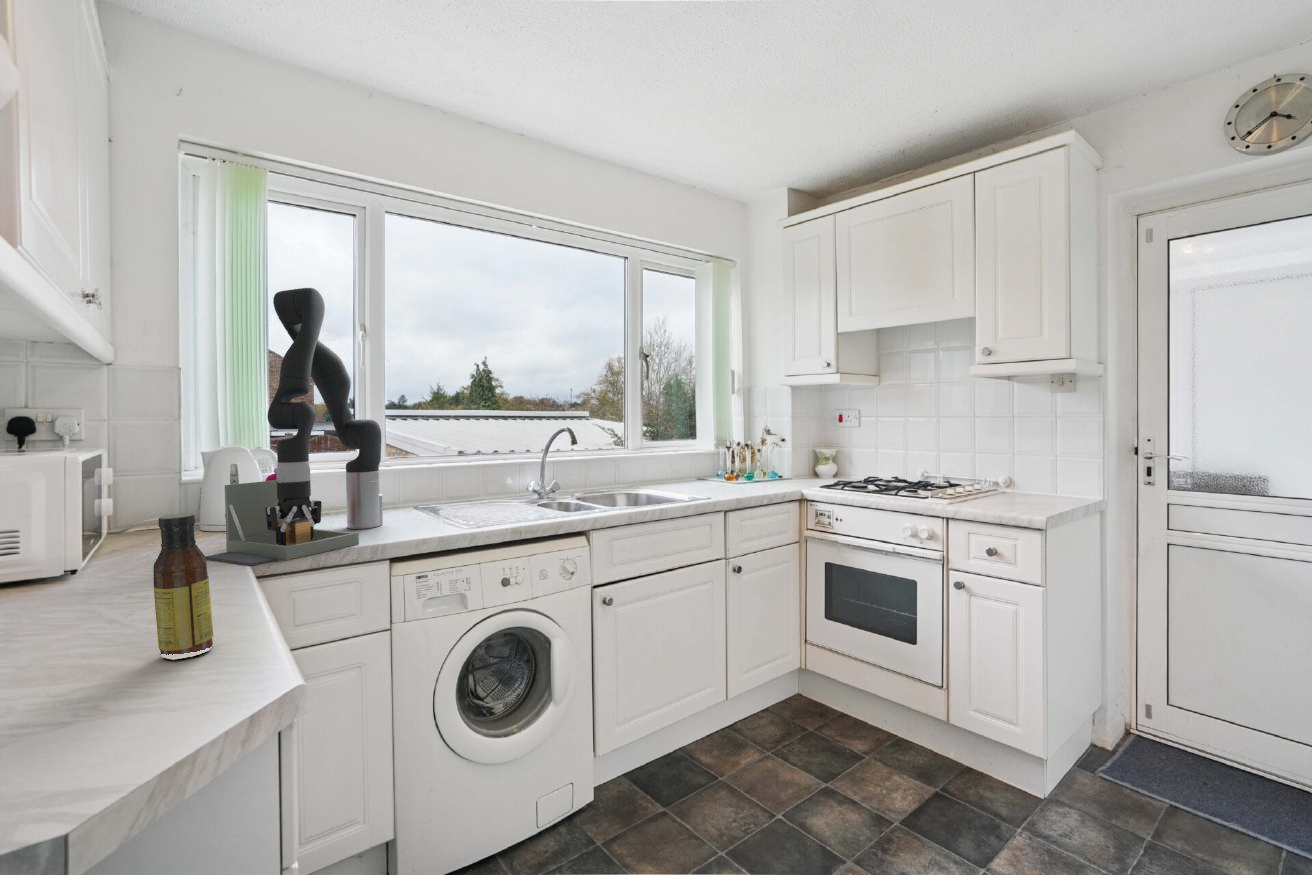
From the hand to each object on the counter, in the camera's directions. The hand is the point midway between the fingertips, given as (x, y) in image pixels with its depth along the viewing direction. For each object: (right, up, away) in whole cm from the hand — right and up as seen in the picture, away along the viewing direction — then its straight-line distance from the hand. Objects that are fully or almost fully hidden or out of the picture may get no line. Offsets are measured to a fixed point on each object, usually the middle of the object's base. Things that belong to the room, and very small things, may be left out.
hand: (295, 543), depth 161 cm
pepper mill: (-12, -1, +14) cm, 18 cm away
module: (0, -1, 0) cm, 1 cm away
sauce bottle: (+27, -4, -73) cm, 78 cm away
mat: (-6, -2, -13) cm, 14 cm away
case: (0, -1, 0) cm, 1 cm away
